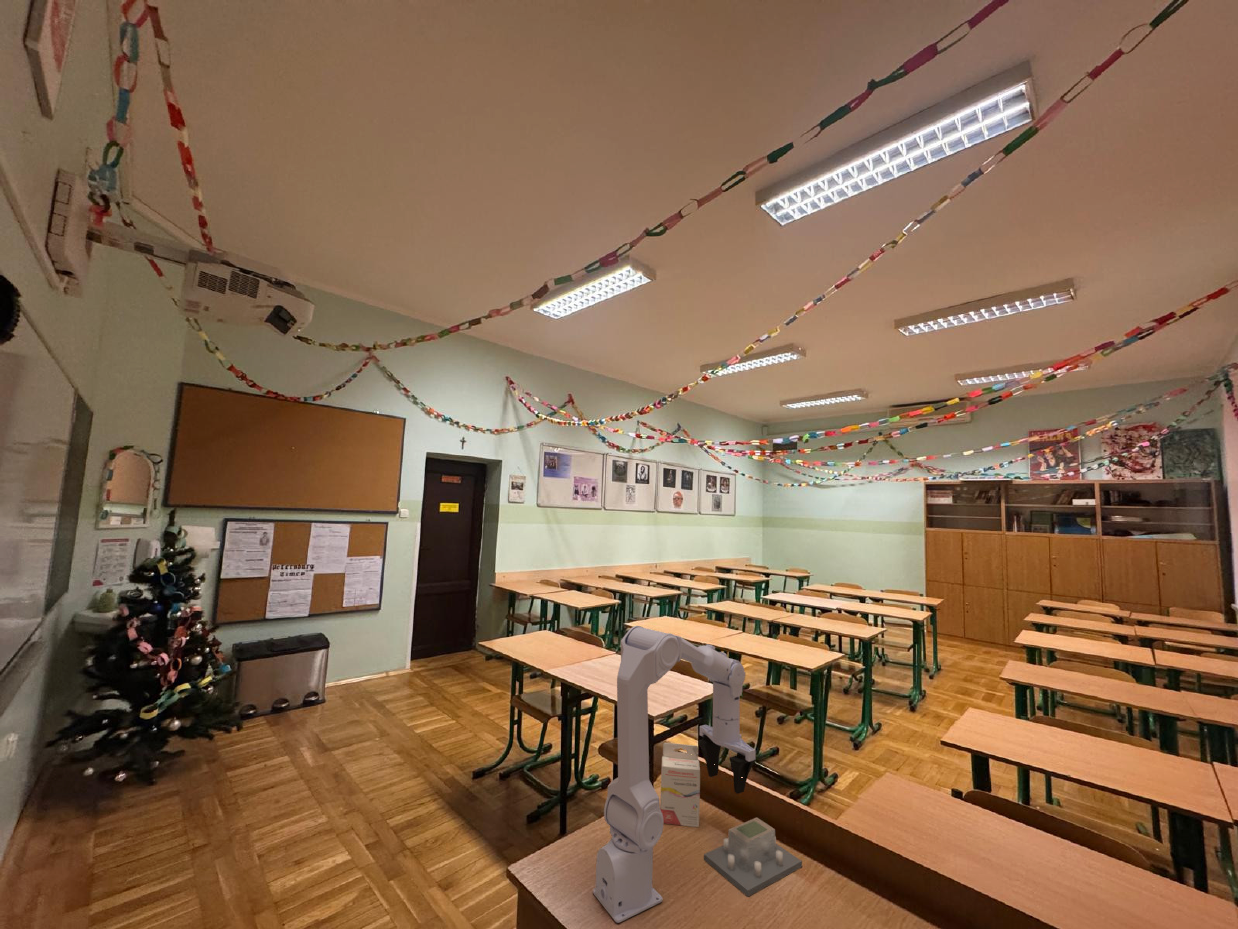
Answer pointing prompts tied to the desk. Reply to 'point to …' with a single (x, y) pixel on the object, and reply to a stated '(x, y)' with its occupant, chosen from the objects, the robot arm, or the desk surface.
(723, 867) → the pin tray
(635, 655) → the robot arm
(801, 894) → the desk surface
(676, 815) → the ink cartridge box
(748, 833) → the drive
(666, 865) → the desk surface
